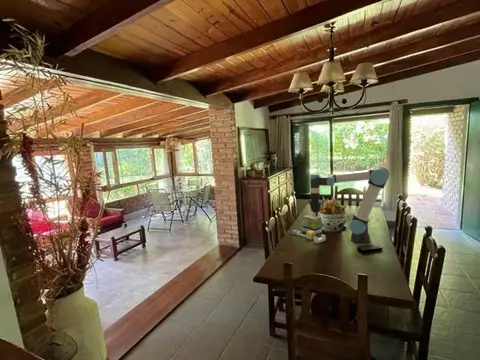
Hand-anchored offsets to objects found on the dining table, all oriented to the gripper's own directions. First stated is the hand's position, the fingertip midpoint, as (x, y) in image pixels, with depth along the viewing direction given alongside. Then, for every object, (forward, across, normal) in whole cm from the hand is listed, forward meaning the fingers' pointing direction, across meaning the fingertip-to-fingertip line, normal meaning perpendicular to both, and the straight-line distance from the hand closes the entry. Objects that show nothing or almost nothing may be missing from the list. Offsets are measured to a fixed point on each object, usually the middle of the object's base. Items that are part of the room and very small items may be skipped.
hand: (315, 219), depth 241 cm
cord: (+18, +10, 0) cm, 21 cm away
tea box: (+18, +18, -16) cm, 30 cm away
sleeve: (+18, +6, 0) cm, 19 cm away
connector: (+18, +24, 0) cm, 30 cm away
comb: (+18, -4, 0) cm, 19 cm away
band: (+18, +20, 0) cm, 27 cm away
